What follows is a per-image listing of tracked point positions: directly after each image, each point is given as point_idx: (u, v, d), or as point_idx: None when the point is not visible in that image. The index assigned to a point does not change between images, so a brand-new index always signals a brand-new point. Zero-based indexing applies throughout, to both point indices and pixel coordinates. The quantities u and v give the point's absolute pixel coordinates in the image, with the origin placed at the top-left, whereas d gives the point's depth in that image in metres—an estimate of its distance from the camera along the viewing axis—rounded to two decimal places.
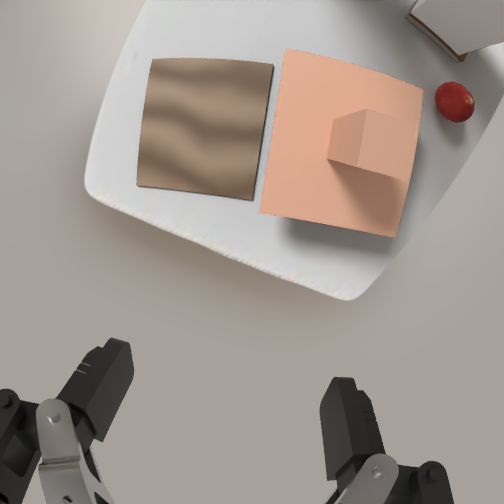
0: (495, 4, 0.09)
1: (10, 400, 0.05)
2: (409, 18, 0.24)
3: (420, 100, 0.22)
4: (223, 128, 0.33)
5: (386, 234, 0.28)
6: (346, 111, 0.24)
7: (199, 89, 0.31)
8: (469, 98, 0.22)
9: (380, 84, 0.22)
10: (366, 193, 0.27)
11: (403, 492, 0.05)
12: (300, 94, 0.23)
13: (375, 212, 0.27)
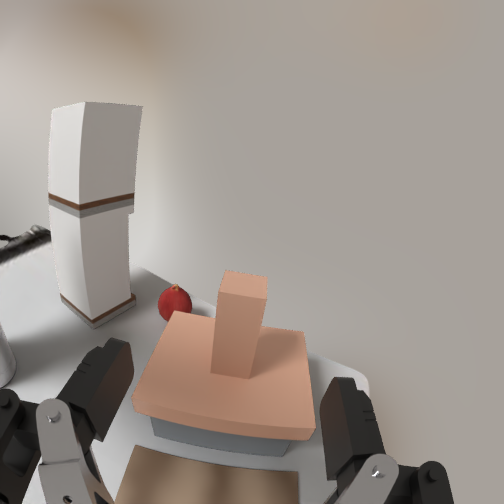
0: (105, 226, 0.38)
1: (10, 400, 0.05)
2: (95, 325, 0.41)
3: (184, 313, 0.35)
4: (213, 501, 0.19)
5: (303, 337, 0.34)
6: (201, 362, 0.28)
7: None
8: (174, 285, 0.43)
9: (173, 336, 0.31)
10: (273, 352, 0.31)
11: (403, 492, 0.05)
12: (184, 394, 0.23)
13: (287, 345, 0.33)
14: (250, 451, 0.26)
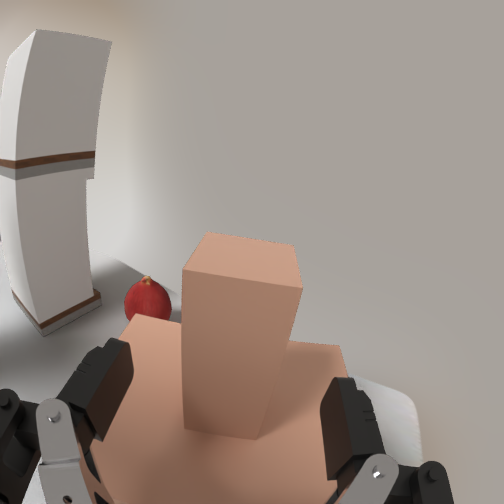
0: (52, 193, 0.24)
1: (10, 400, 0.05)
2: (45, 331, 0.27)
3: (150, 318, 0.22)
4: None
5: (339, 354, 0.21)
6: (168, 408, 0.14)
7: None
8: (144, 278, 0.29)
9: None
10: (296, 383, 0.17)
11: (403, 492, 0.05)
12: (134, 470, 0.10)
13: (318, 370, 0.19)
14: None
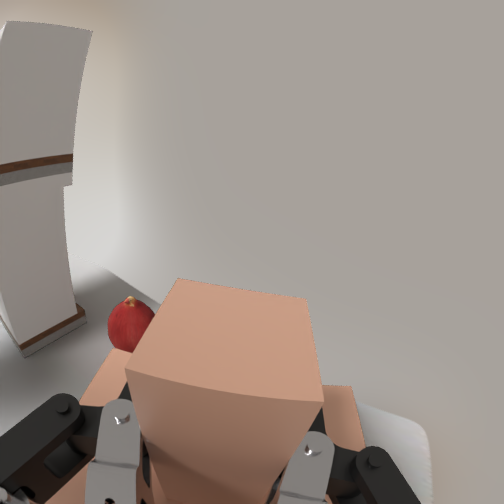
0: (25, 203, 0.20)
1: (69, 406, 0.06)
2: (26, 352, 0.22)
3: (129, 355, 0.17)
4: None
5: (351, 398, 0.16)
6: None
7: None
8: (128, 299, 0.25)
9: None
10: None
11: (341, 476, 0.06)
12: None
13: (327, 421, 0.14)
14: None
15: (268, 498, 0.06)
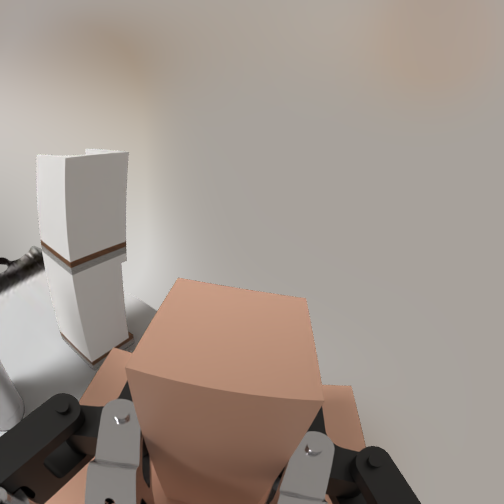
0: (98, 277, 0.37)
1: (69, 405, 0.06)
2: (96, 366, 0.40)
3: (129, 354, 0.17)
4: None
5: (351, 398, 0.16)
6: None
7: None
8: None
9: (99, 405, 0.13)
10: None
11: (342, 476, 0.06)
12: None
13: (327, 420, 0.15)
14: None
15: (268, 498, 0.06)
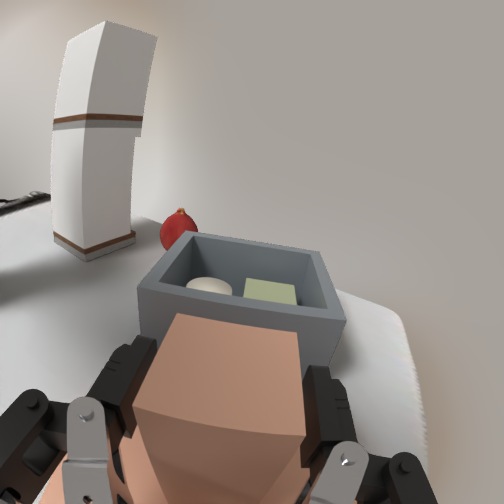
0: (110, 142, 0.34)
1: (38, 401, 0.05)
2: (88, 257, 0.36)
3: None
4: None
5: None
6: (151, 480, 0.10)
7: None
8: (179, 208, 0.39)
9: None
10: (295, 450, 0.14)
11: (374, 483, 0.05)
12: None
13: None
14: None
15: None
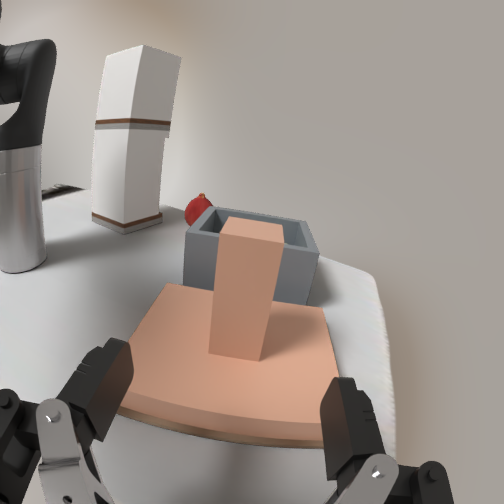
0: (146, 141, 0.46)
1: (10, 400, 0.05)
2: (126, 231, 0.48)
3: (178, 286, 0.30)
4: None
5: (322, 313, 0.29)
6: (197, 341, 0.22)
7: None
8: (201, 193, 0.51)
9: (163, 310, 0.25)
10: (288, 329, 0.25)
11: (403, 492, 0.05)
12: (173, 380, 0.18)
13: (304, 322, 0.27)
14: None
15: None
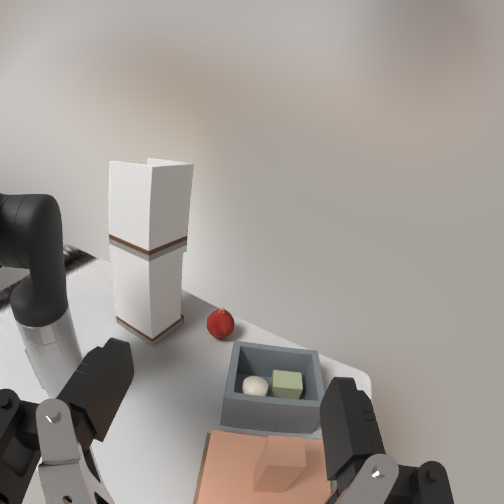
0: (166, 264, 0.50)
1: (10, 400, 0.05)
2: (154, 342, 0.53)
3: (221, 432, 0.34)
4: None
5: None
6: (244, 482, 0.27)
7: None
8: (221, 309, 0.56)
9: (216, 459, 0.30)
10: None
11: (403, 492, 0.05)
12: None
13: (312, 456, 0.31)
14: (290, 430, 0.38)
15: None
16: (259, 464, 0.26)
